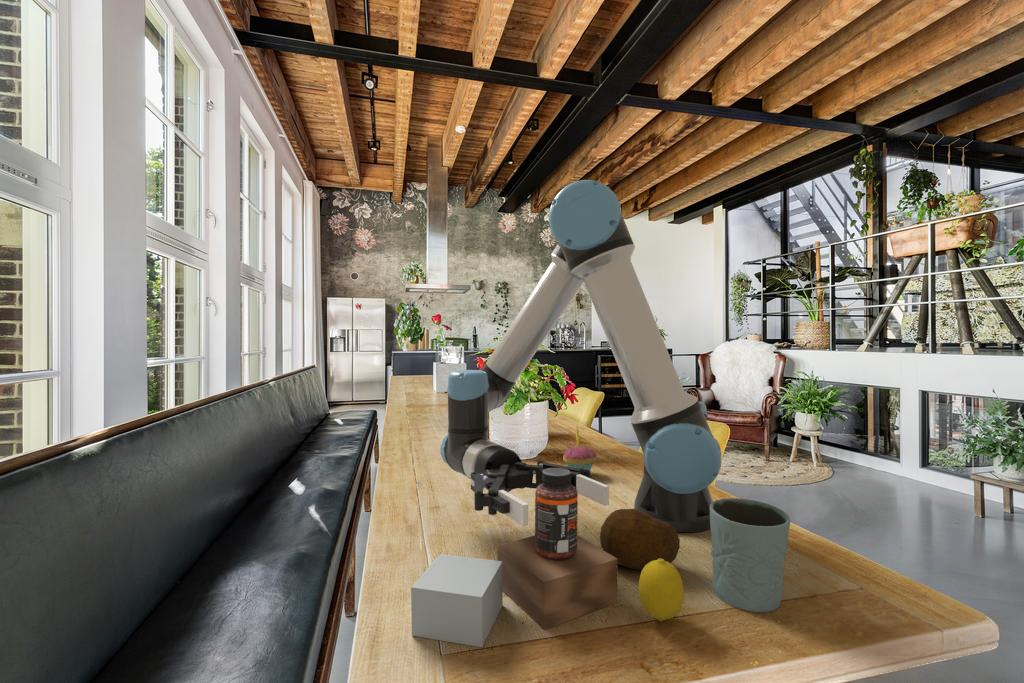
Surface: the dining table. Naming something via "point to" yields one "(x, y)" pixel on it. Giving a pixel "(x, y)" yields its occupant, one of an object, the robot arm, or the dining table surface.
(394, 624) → the dining table surface
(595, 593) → the walnut block
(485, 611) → the grey block
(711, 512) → the grey green planter pot
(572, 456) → the cupcake
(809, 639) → the dining table surface
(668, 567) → the lemon
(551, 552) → the supplement bottle
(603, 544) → the potato
